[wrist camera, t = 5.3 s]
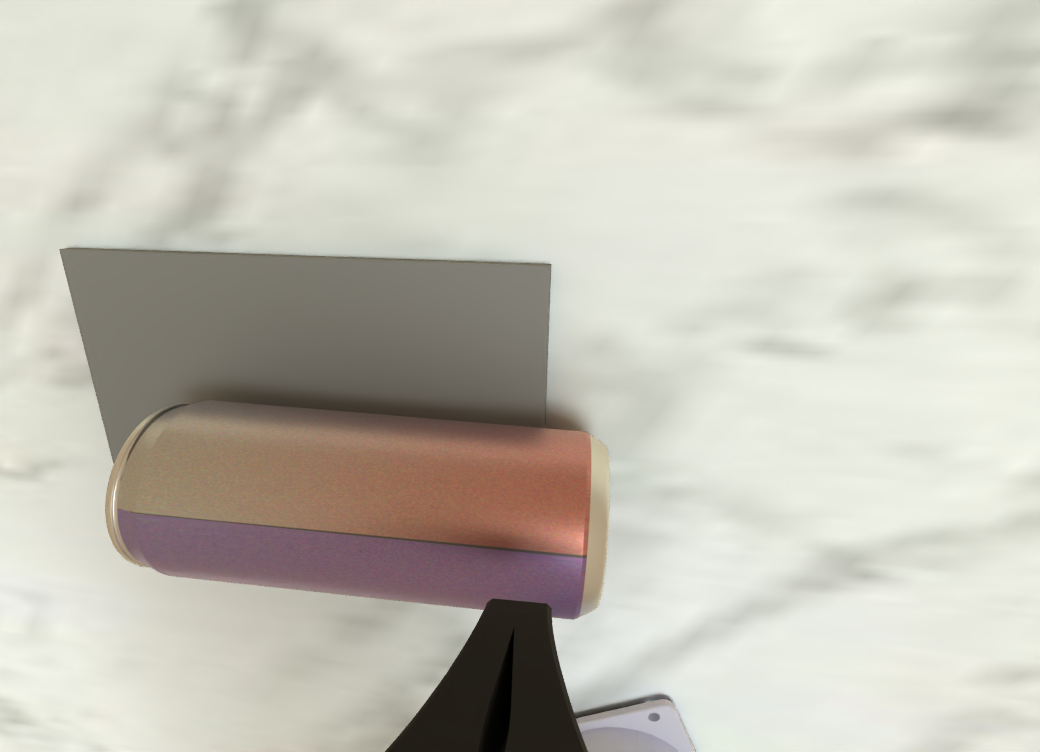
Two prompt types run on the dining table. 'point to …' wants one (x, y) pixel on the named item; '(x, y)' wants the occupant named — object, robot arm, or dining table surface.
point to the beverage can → (365, 505)
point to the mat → (311, 334)
